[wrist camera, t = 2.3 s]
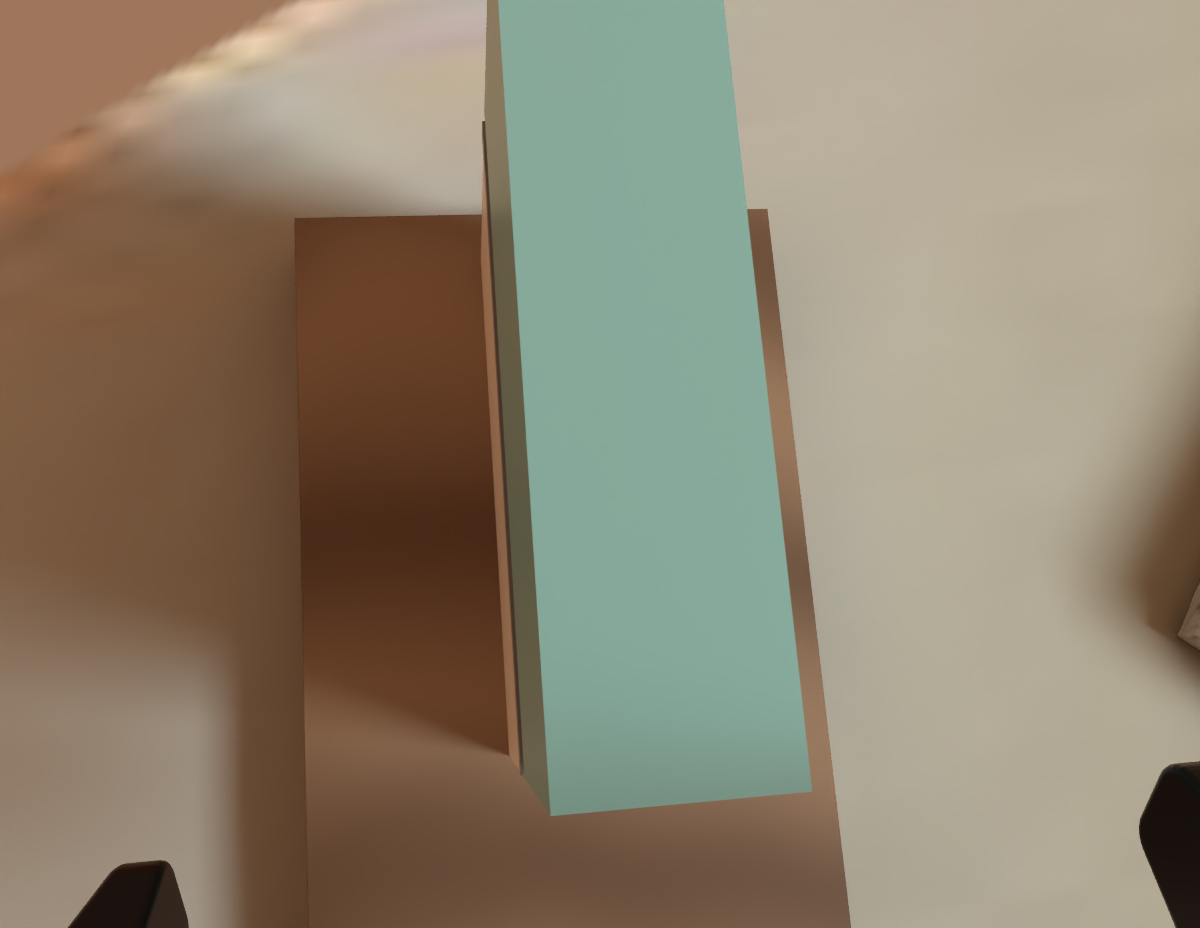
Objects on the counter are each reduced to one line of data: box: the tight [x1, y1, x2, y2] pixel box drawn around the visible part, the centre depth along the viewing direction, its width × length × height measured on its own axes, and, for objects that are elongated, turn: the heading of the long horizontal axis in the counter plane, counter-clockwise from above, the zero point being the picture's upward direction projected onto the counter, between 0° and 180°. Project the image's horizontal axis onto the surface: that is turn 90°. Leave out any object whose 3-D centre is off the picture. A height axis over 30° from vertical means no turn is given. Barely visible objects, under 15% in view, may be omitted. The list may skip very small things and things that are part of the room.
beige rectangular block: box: [481, 121, 524, 776], centre depth 19 cm, size 10×3×6 cm, turn 4°
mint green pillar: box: [484, 0, 812, 816], centre depth 13 cm, size 10×2×5 cm, turn 4°
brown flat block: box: [295, 209, 851, 928], centre depth 22 cm, size 15×10×2 cm, turn 4°
